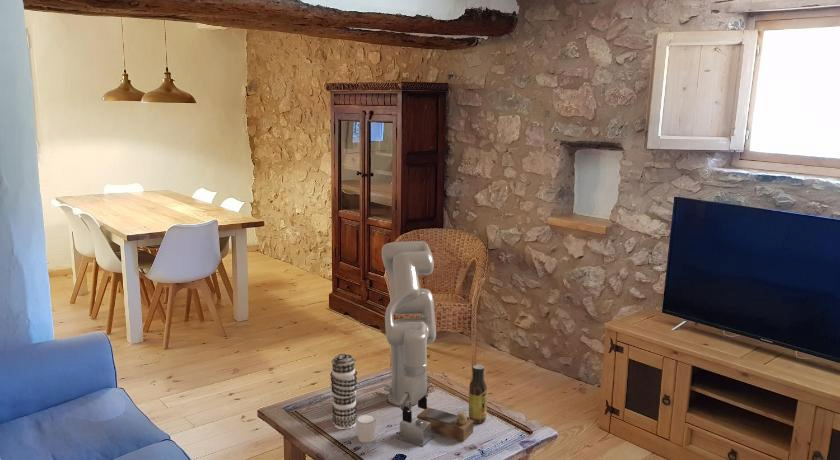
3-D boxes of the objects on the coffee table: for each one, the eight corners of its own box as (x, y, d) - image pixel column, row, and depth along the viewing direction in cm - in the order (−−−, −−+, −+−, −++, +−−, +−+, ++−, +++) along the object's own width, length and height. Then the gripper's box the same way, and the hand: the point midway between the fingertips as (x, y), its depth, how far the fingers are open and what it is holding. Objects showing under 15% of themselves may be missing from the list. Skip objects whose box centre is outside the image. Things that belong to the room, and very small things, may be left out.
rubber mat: (397, 438, 211) (397, 437, 210) (408, 429, 216) (408, 427, 216) (422, 446, 205) (422, 445, 205) (433, 437, 211) (433, 435, 211)
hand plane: (417, 427, 217) (417, 407, 216) (427, 418, 223) (427, 399, 222) (463, 441, 208) (463, 420, 207) (473, 432, 214) (473, 412, 213)
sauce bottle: (485, 425, 219) (486, 371, 215) (467, 423, 220) (468, 370, 216) (487, 416, 225) (488, 364, 221) (469, 414, 226) (470, 362, 222)
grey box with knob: (400, 435, 211) (400, 420, 210) (408, 429, 215) (407, 414, 214) (423, 443, 207) (423, 427, 205) (430, 436, 211) (430, 421, 210)
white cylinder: (368, 445, 206) (368, 426, 205) (351, 439, 210) (351, 420, 208) (380, 436, 212) (380, 417, 211) (364, 430, 216) (364, 411, 214)
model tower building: (344, 414, 227) (342, 349, 221) (363, 421, 221) (362, 355, 216) (326, 425, 219) (323, 357, 214) (346, 433, 214) (344, 364, 209)
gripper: (418, 355, 215) (418, 400, 219) (390, 375, 201) (391, 423, 205) (438, 360, 211) (437, 406, 216) (410, 381, 197) (410, 430, 201)
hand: (414, 414), depth 210 cm, fingers open, 9 cm apart
